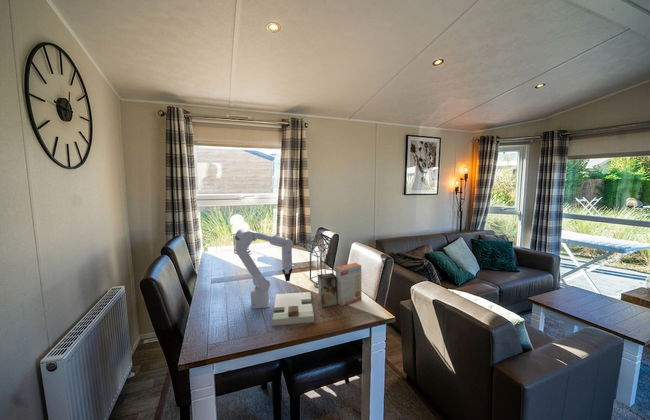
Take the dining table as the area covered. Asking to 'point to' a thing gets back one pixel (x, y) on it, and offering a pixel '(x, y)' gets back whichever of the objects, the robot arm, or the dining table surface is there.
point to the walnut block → (293, 311)
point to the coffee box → (327, 289)
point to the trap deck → (292, 300)
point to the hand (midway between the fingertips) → (287, 280)
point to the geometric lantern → (320, 250)
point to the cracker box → (348, 284)
